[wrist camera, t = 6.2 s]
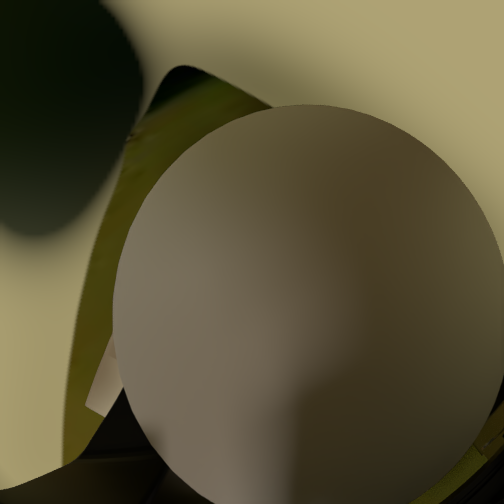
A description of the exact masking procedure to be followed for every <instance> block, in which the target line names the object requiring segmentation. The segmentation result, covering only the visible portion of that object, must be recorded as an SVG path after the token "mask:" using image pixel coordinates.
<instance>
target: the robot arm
mask: <svg viewBox="0 0 504 504" xmlns="http://www.w3.org/2000/svg"><path fill="white" fill-rule="evenodd" d="M473 445H474V446H475V448H476V449H477V450H478V452H479V453H480V454H481V455H485V457H486V458H487V459H488V461H487V462H486V463H485V464H484V465H483V466H482V467H481V468H480V469H479V470H478V471H477V472H476V473H475V474H474V475H472V476H471V477H470V478H469V479H468V480H467V481H466V482H465V483H464V484H462V485H461V486H460V487H459V488H458V489H457V490H455V491H454V492H453V493H452V494H451V495H449V496H448V497H447V498H446V499H444V500H443V501H442V502H441V503H439V504H488V503H491V504H504V376H503V380H502V383H501V386H500V389H499V392H498V395H497V398H496V400H495V403H494V405H493V407H492V410H491V412H490V414H489V416H488V418H487V420H486V422H485V424H484V426H483V427H482V429H481V431H480V432H479V434H478V436H477V437H476V439H475V440H474V442H473ZM0 504H215V503H213V502H211V501H210V500H208V499H206V498H205V497H203V496H202V495H200V494H199V493H197V492H196V491H195V490H194V489H193V488H191V487H190V486H189V485H188V484H187V483H186V482H184V481H183V480H182V479H181V478H180V477H179V476H178V475H177V474H175V473H174V472H173V471H172V469H171V468H170V467H169V466H168V465H167V464H166V462H165V461H164V460H163V459H162V457H161V456H160V455H159V454H158V453H157V451H156V450H155V449H154V447H153V446H152V445H151V444H150V442H149V440H148V439H147V437H146V435H145V433H144V432H143V430H142V428H141V426H140V424H139V423H138V421H137V419H136V417H135V415H134V413H133V411H132V409H131V406H130V404H129V401H128V398H127V395H126V392H125V390H124V387H123V388H122V390H121V392H120V393H119V395H118V397H117V399H116V400H115V402H114V404H113V405H112V407H111V409H110V410H109V412H108V414H107V415H106V417H105V418H104V420H103V421H102V423H101V425H100V426H99V428H98V429H97V431H96V432H95V434H94V436H93V437H92V439H91V440H90V442H89V444H88V445H87V447H86V448H85V450H84V451H83V452H82V453H81V454H80V455H79V456H78V457H77V458H76V459H75V460H74V461H72V462H71V463H69V464H67V465H65V466H63V467H61V468H58V469H56V470H54V471H52V472H50V473H47V474H45V475H43V476H40V477H38V478H35V479H33V480H31V481H28V482H26V483H23V484H21V485H18V486H15V487H12V488H9V489H3V490H0Z"/></svg>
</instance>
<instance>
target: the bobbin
mask: <svg viewBox="0 0 504 504" xmlns="http://www.w3.org/2000/svg"><path fill="white" fill-rule="evenodd" d="M113 339H114V346H115V352H116V358H117V364H118V369H119V374H120V378H121V381H122V384H123V387H124V390H125V392H126V395H127V398H128V401H129V404H130V406H131V409H132V411H133V413H134V415H135V417H136V419H137V421H138V423H139V424H140V426H141V428H142V430H143V432H144V433H145V435H146V437H147V439H148V440H149V442H150V444H151V445H152V446H153V447H154V449H155V450H156V451H157V453H158V454H159V455H160V456H161V457H162V459H163V460H164V461H165V462H166V464H167V465H168V466H169V467H170V468H171V469H172V471H173V472H174V473H175V474H177V475H178V476H179V477H180V478H181V479H182V480H183V481H184V482H186V483H187V484H188V485H189V486H190V487H191V488H193V489H194V490H195V491H196V492H197V493H199V494H200V495H202V496H203V497H205V498H206V499H208V500H210V501H211V502H213V503H215V504H408V503H409V502H411V501H413V500H414V499H416V498H418V497H419V496H421V495H422V494H423V493H425V492H426V491H427V490H429V489H430V488H431V487H432V486H434V485H435V484H436V483H437V482H439V481H440V480H441V479H442V478H443V477H444V476H445V475H446V474H447V473H448V472H449V471H450V470H451V469H452V468H453V467H454V466H455V465H456V464H457V463H458V461H459V460H460V459H461V458H462V457H463V455H464V454H465V453H466V452H467V450H468V449H469V448H470V446H471V445H472V444H473V442H474V440H475V439H476V437H477V436H478V434H479V432H480V431H481V429H482V427H483V426H484V424H485V422H486V420H487V418H488V416H489V414H490V412H491V410H492V407H493V405H494V403H495V400H496V398H497V395H498V392H499V389H500V386H501V383H502V380H503V376H504V264H503V260H502V257H501V253H500V250H499V247H498V245H497V242H496V239H495V237H494V234H493V232H492V229H491V227H490V225H489V223H488V221H487V219H486V217H485V215H484V213H483V211H482V210H481V208H480V206H479V205H478V203H477V201H476V200H475V198H474V197H473V195H472V194H471V192H470V191H469V190H468V188H467V187H466V186H465V184H464V183H463V182H462V181H461V179H460V178H459V177H458V176H457V174H455V172H454V171H453V170H452V169H451V168H450V167H449V166H448V165H447V164H446V163H445V162H444V161H443V160H442V159H441V158H440V157H439V156H438V155H436V154H435V153H434V152H433V151H432V150H431V149H429V148H428V147H427V146H426V145H424V144H423V143H421V142H420V141H419V140H417V139H416V138H414V137H413V136H411V135H410V134H408V133H406V132H405V131H403V130H401V129H399V128H397V127H396V126H394V125H392V124H390V123H387V122H385V121H383V120H380V119H378V118H375V117H373V116H370V115H367V114H363V113H360V112H357V111H353V110H350V109H344V108H338V107H332V106H324V105H294V106H283V107H277V108H272V109H267V110H263V111H259V112H255V113H252V114H249V115H247V116H244V117H241V118H239V119H236V120H233V121H231V122H229V123H227V124H225V125H224V126H222V127H220V128H218V129H216V130H214V131H213V132H211V133H209V134H207V135H206V136H205V137H203V138H202V139H201V140H199V141H198V142H197V143H195V144H194V145H193V146H191V147H190V148H189V149H187V150H186V151H185V152H184V153H183V154H182V155H181V156H180V157H179V158H178V159H177V160H176V161H175V162H174V163H173V164H172V165H171V166H170V167H169V168H168V169H167V170H166V171H165V172H164V173H163V175H162V176H161V178H160V179H159V180H158V182H157V183H156V184H155V186H154V187H153V188H152V190H151V191H150V193H149V194H148V196H147V197H146V198H145V200H144V202H143V204H142V206H141V208H140V210H139V212H138V214H137V216H136V218H135V220H134V222H133V224H132V226H131V228H130V230H129V233H128V236H127V239H126V242H125V245H124V248H123V251H122V254H121V257H120V260H119V265H118V270H117V276H116V283H115V289H114V296H113Z"/></svg>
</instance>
